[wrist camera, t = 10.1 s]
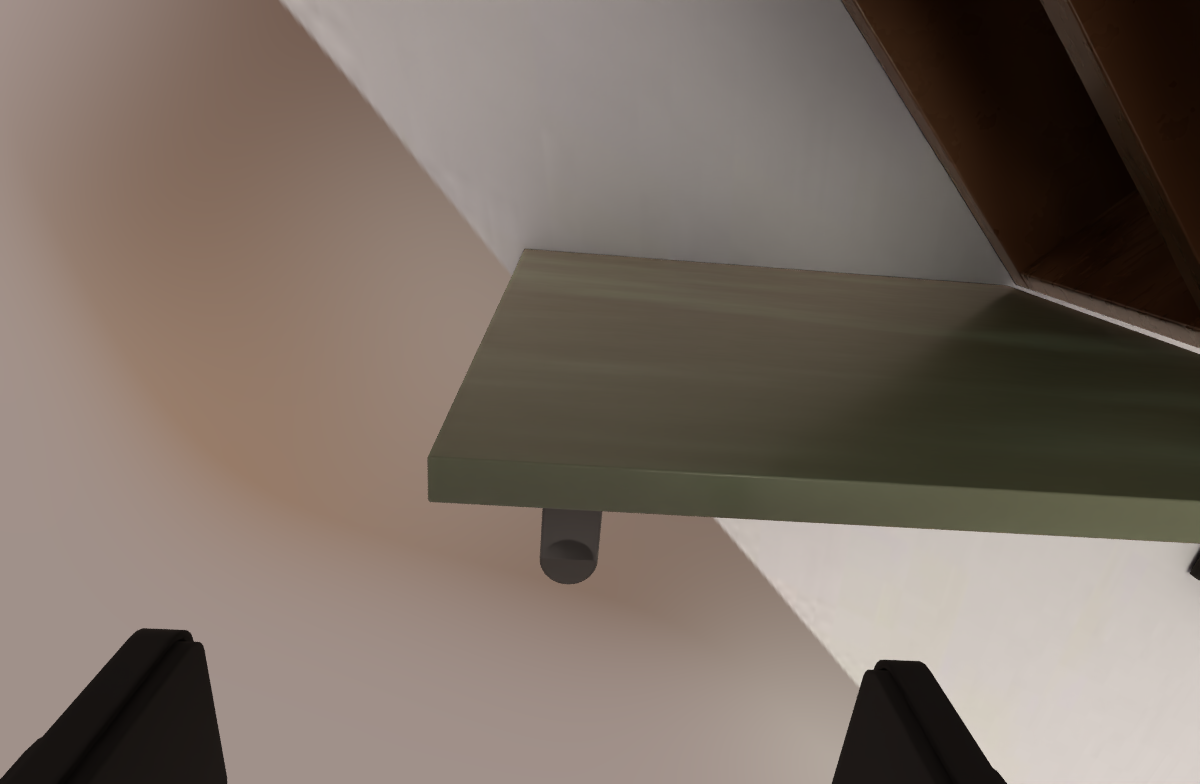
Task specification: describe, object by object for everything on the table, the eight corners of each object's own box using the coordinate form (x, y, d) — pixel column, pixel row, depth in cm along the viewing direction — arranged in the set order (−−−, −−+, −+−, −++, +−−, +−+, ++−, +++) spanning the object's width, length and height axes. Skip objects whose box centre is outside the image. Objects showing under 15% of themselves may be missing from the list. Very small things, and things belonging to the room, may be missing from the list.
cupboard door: (969, 409, 39) (1495, 782, 17) (519, 380, 38) (431, 746, 15) (1007, 285, 36) (1694, 529, 14) (524, 248, 35) (426, 456, 13)
